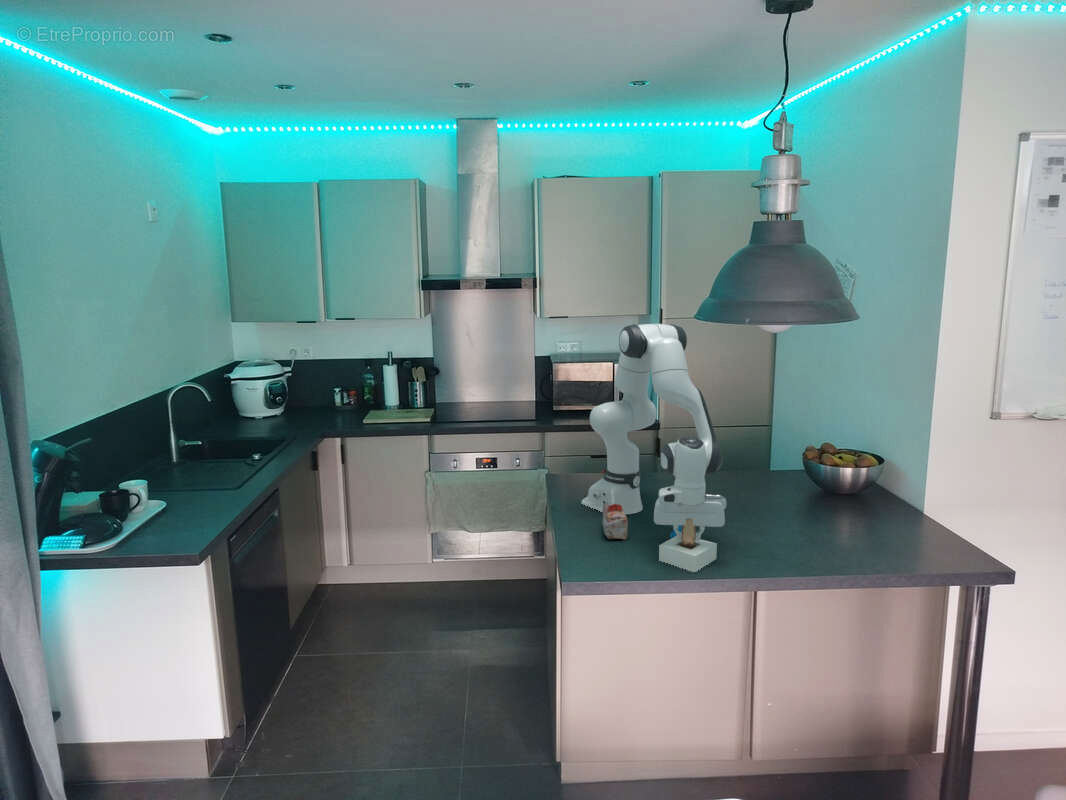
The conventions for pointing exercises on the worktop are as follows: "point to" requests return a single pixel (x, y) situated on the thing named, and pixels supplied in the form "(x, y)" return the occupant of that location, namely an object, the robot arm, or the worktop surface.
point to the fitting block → (687, 554)
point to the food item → (614, 521)
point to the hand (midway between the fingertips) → (688, 539)
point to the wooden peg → (688, 535)
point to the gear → (675, 532)
